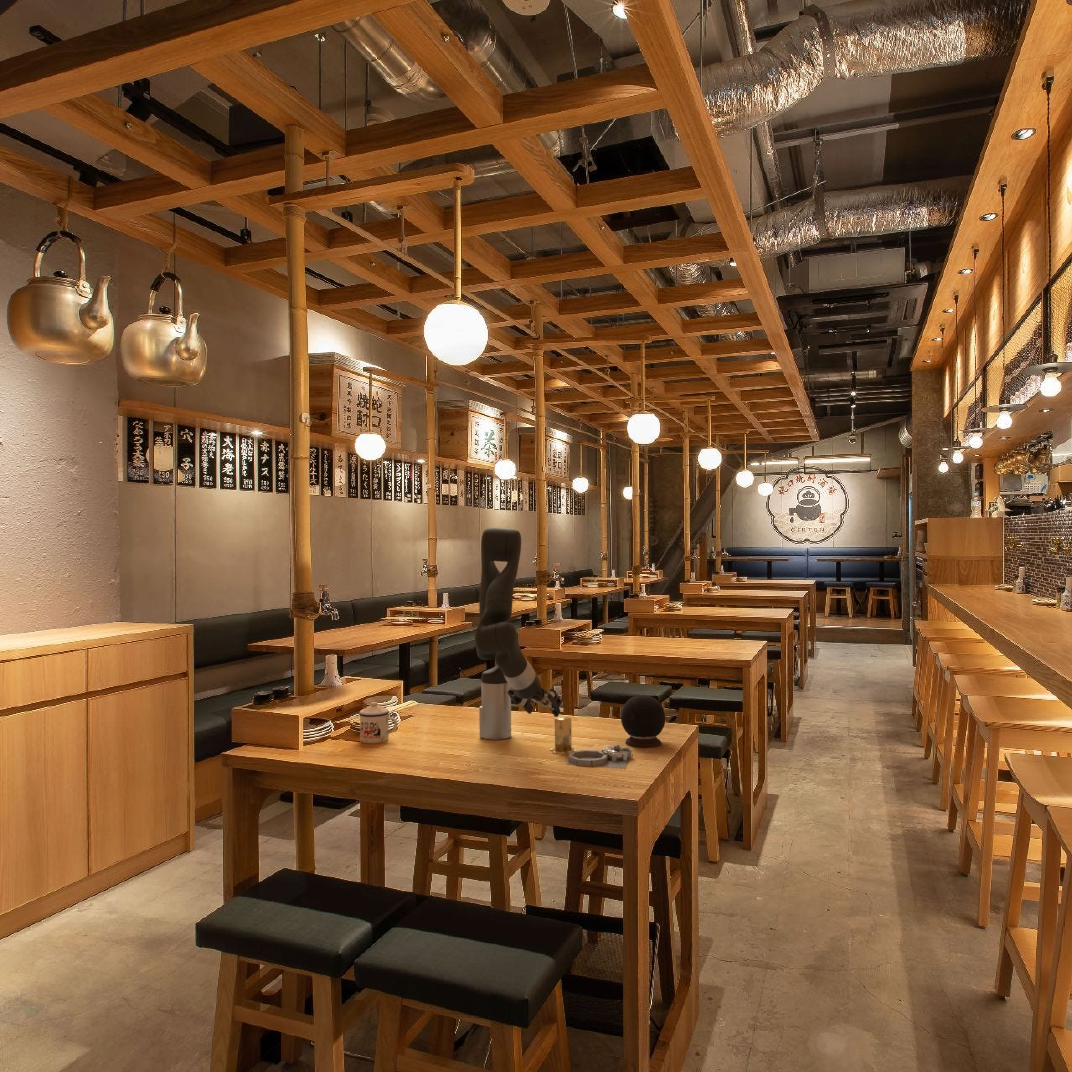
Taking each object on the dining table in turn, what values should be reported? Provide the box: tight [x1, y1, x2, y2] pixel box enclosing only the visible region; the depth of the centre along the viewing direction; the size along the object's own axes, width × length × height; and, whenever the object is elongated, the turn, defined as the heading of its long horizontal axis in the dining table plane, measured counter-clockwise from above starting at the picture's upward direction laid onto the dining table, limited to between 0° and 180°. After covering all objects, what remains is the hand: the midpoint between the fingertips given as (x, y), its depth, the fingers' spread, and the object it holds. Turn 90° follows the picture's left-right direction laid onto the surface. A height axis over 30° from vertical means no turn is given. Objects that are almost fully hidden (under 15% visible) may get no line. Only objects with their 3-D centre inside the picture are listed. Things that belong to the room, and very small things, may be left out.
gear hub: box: [549, 716, 578, 756], centre depth 219 cm, size 8×7×10 cm
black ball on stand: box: [620, 694, 667, 749], centre depth 227 cm, size 13×13×15 cm
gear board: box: [565, 749, 634, 770], centre depth 210 cm, size 16×14×2 cm
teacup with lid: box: [358, 701, 398, 744], centre depth 237 cm, size 12×9×12 cm
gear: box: [601, 744, 633, 761], centre depth 212 cm, size 8×8×3 cm
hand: (544, 712), depth 211 cm, fingers open, 8 cm apart
